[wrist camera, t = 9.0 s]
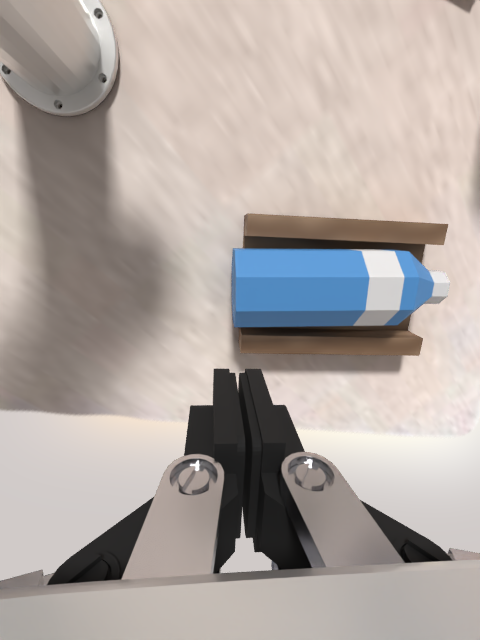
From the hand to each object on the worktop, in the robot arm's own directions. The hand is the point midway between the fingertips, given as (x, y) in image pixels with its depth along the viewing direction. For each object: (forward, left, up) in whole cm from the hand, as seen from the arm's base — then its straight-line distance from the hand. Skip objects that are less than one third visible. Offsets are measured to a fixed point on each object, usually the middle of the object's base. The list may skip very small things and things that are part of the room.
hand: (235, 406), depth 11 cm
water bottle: (0, +1, -26) cm, 26 cm away
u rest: (0, +15, -31) cm, 34 cm away
